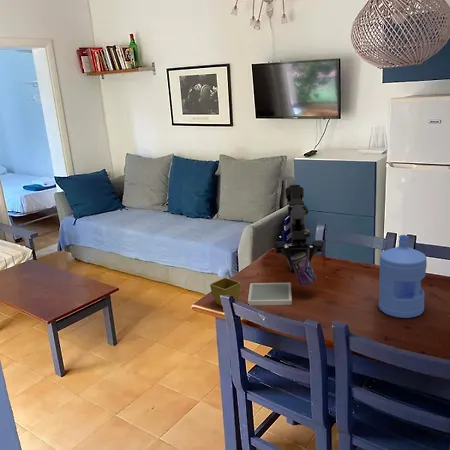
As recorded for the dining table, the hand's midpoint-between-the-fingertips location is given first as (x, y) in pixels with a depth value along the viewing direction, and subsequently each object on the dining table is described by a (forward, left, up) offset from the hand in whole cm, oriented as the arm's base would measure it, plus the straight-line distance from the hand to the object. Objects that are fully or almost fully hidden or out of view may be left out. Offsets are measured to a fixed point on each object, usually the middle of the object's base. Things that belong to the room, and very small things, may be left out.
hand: (300, 266), depth 182 cm
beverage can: (-1, +3, -7) cm, 8 cm away
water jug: (+11, +36, -13) cm, 40 cm away
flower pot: (+5, -29, -14) cm, 33 cm away
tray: (-2, -12, -13) cm, 18 cm away
